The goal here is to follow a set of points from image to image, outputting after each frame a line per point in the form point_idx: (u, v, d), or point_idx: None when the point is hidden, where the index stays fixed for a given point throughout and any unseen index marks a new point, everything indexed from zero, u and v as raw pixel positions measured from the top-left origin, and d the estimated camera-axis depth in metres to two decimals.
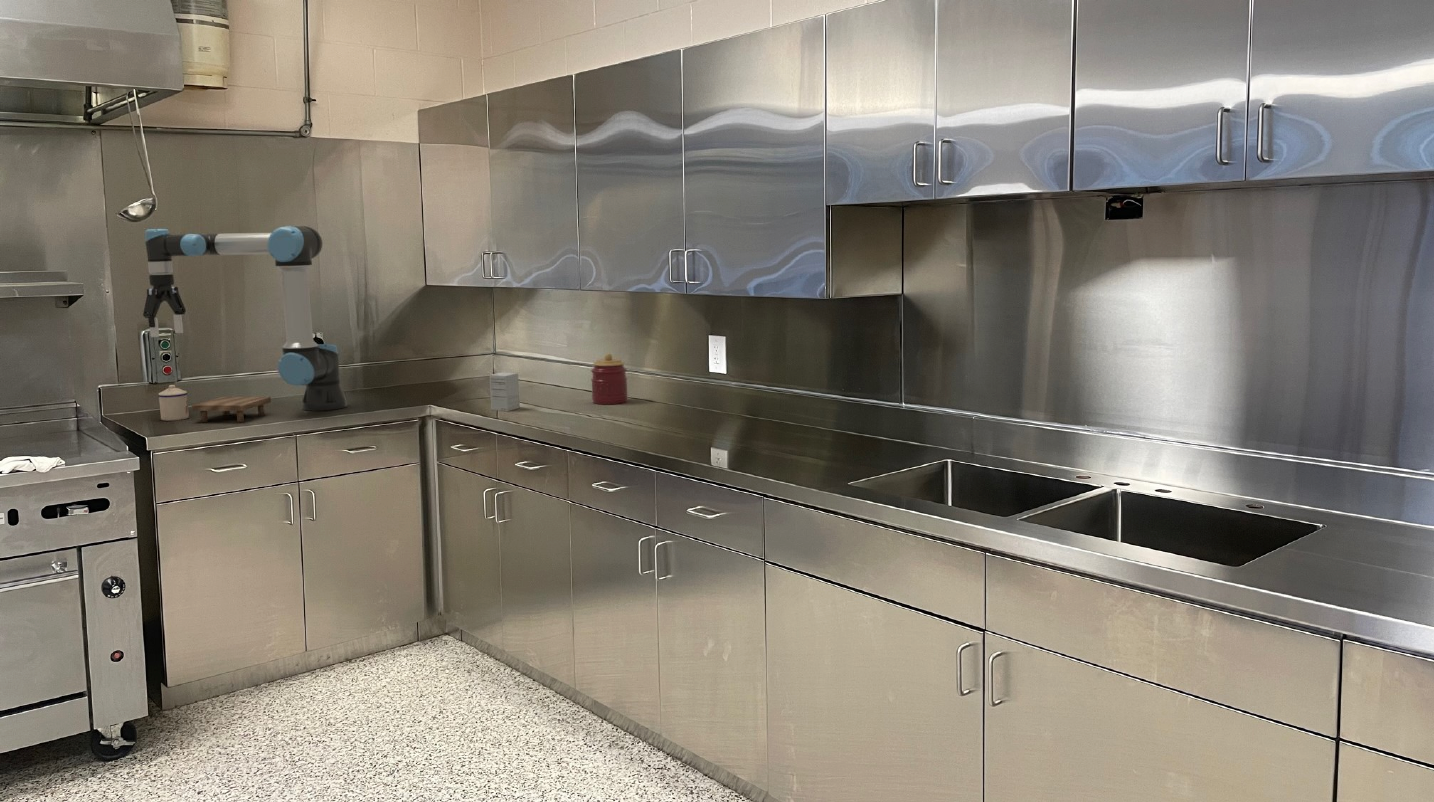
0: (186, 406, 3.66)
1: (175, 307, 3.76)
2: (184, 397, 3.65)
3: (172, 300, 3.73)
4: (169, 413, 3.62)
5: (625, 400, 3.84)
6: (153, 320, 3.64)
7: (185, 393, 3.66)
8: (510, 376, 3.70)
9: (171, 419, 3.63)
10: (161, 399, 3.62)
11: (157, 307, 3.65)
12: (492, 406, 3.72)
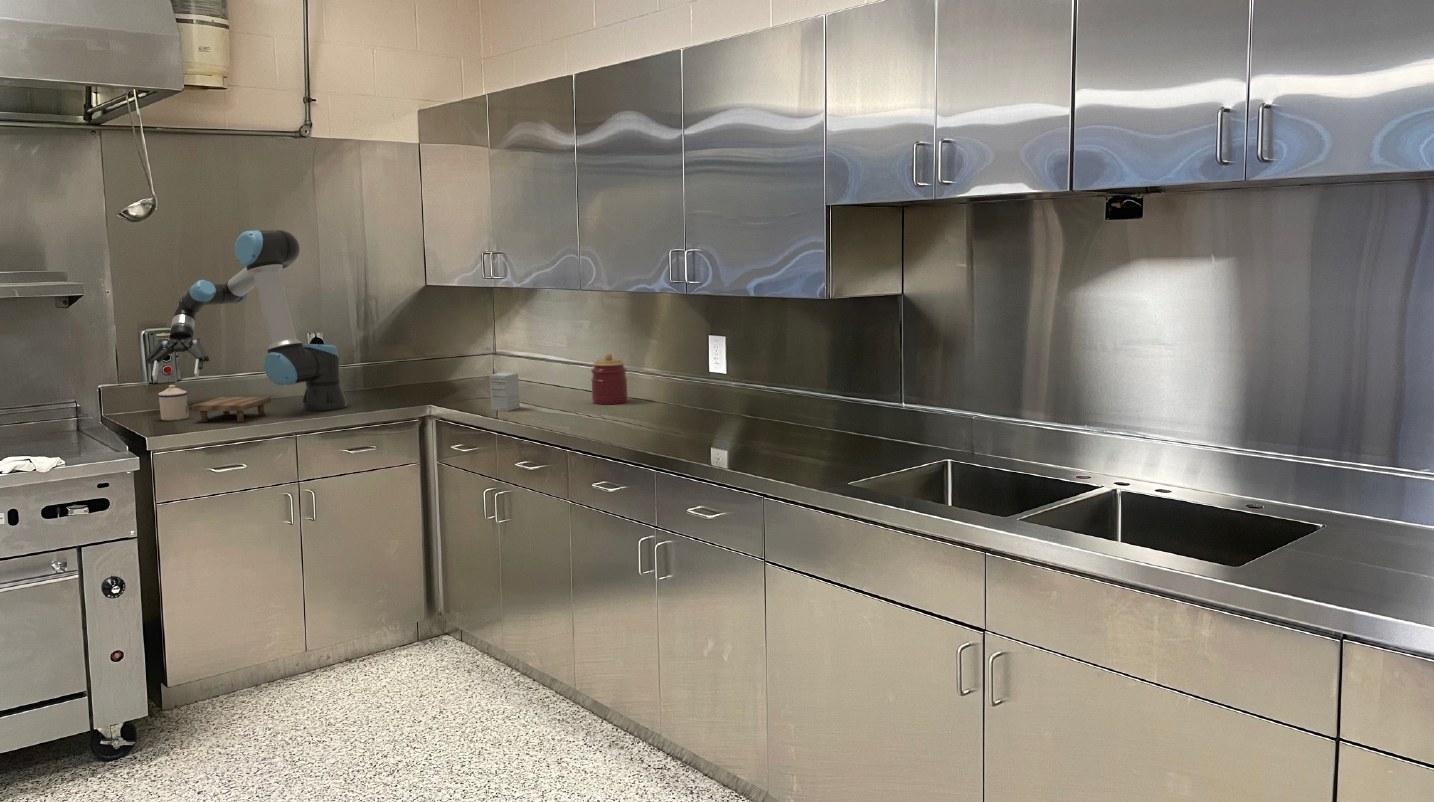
0: (186, 406, 3.66)
1: (193, 354, 3.80)
2: (184, 397, 3.65)
3: (187, 348, 3.81)
4: (169, 413, 3.62)
5: (625, 400, 3.84)
6: (152, 363, 3.75)
7: (185, 393, 3.66)
8: (510, 376, 3.70)
9: (171, 419, 3.63)
10: (161, 399, 3.62)
11: (160, 353, 3.78)
12: (492, 407, 3.72)
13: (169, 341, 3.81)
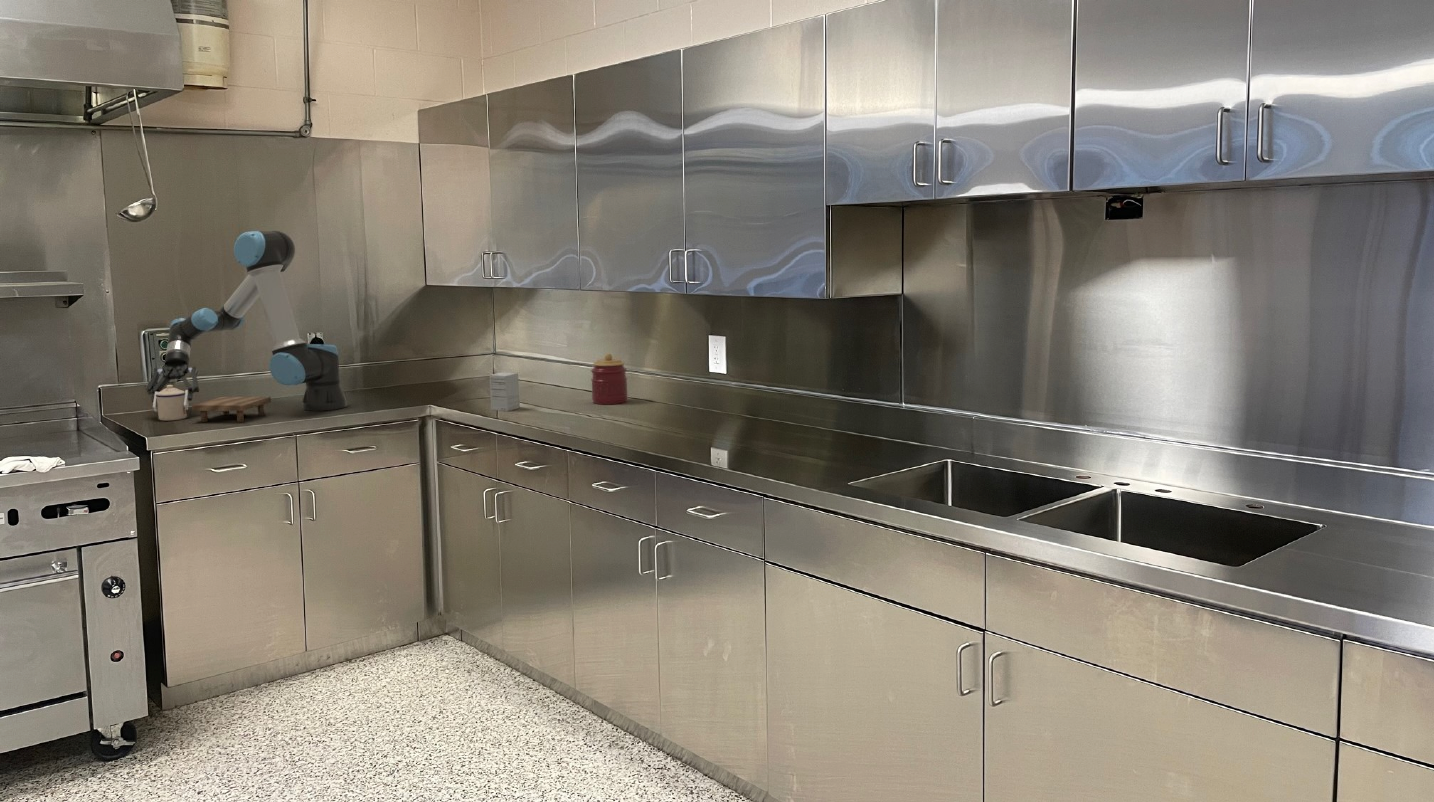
0: None
1: (185, 384, 3.70)
2: (182, 397, 3.65)
3: (180, 376, 3.71)
4: (166, 413, 3.62)
5: (625, 400, 3.84)
6: (153, 394, 3.66)
7: (183, 393, 3.65)
8: (510, 376, 3.70)
9: (168, 419, 3.63)
10: (159, 399, 3.62)
11: (159, 382, 3.68)
12: (492, 407, 3.72)
13: (164, 368, 3.72)
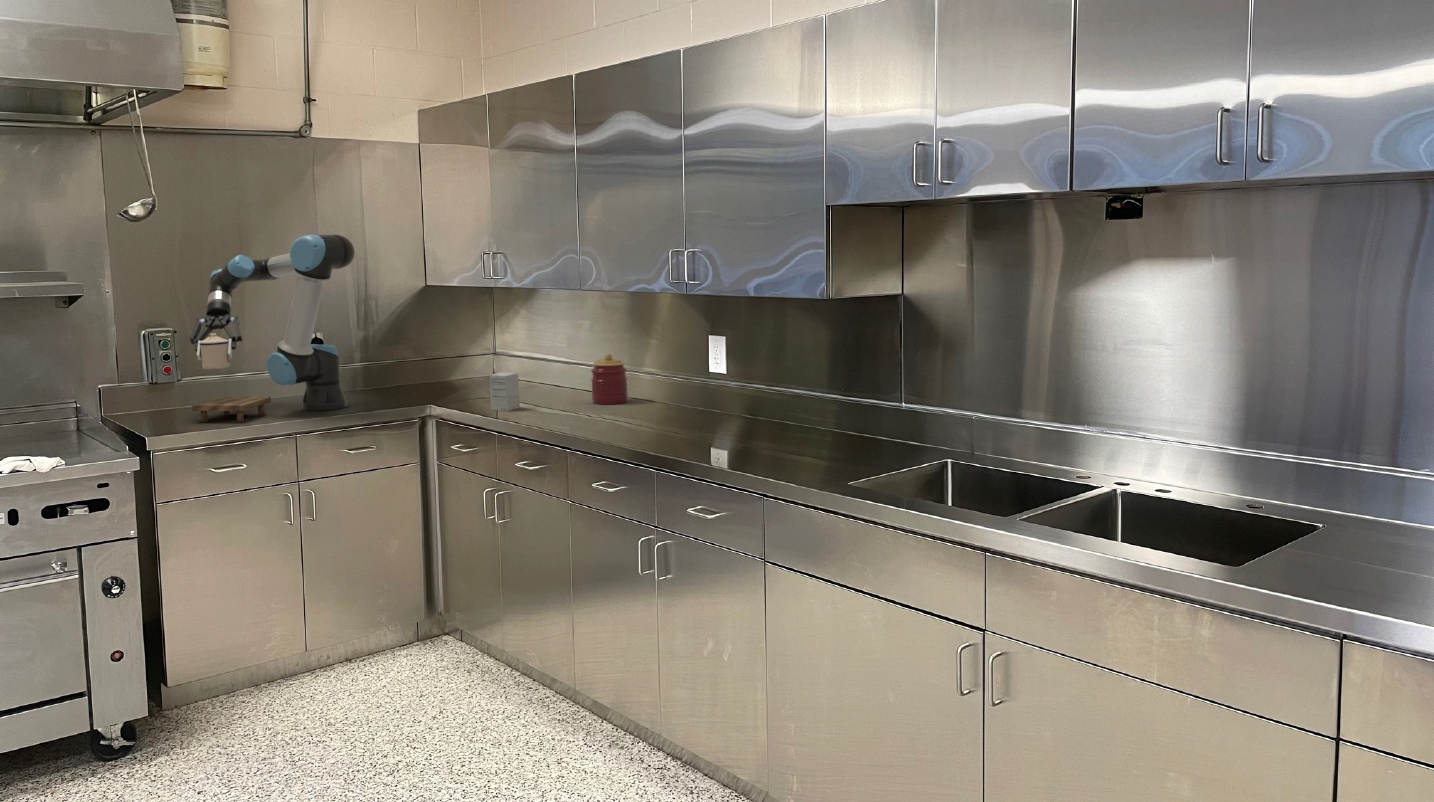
0: (227, 355, 3.62)
1: (228, 333, 3.66)
2: (225, 345, 3.60)
3: (223, 325, 3.67)
4: (210, 361, 3.58)
5: (625, 400, 3.84)
6: (196, 343, 3.61)
7: (226, 341, 3.61)
8: (510, 376, 3.70)
9: (213, 367, 3.58)
10: (203, 347, 3.57)
11: (202, 331, 3.64)
12: (492, 407, 3.72)
13: (206, 318, 3.67)
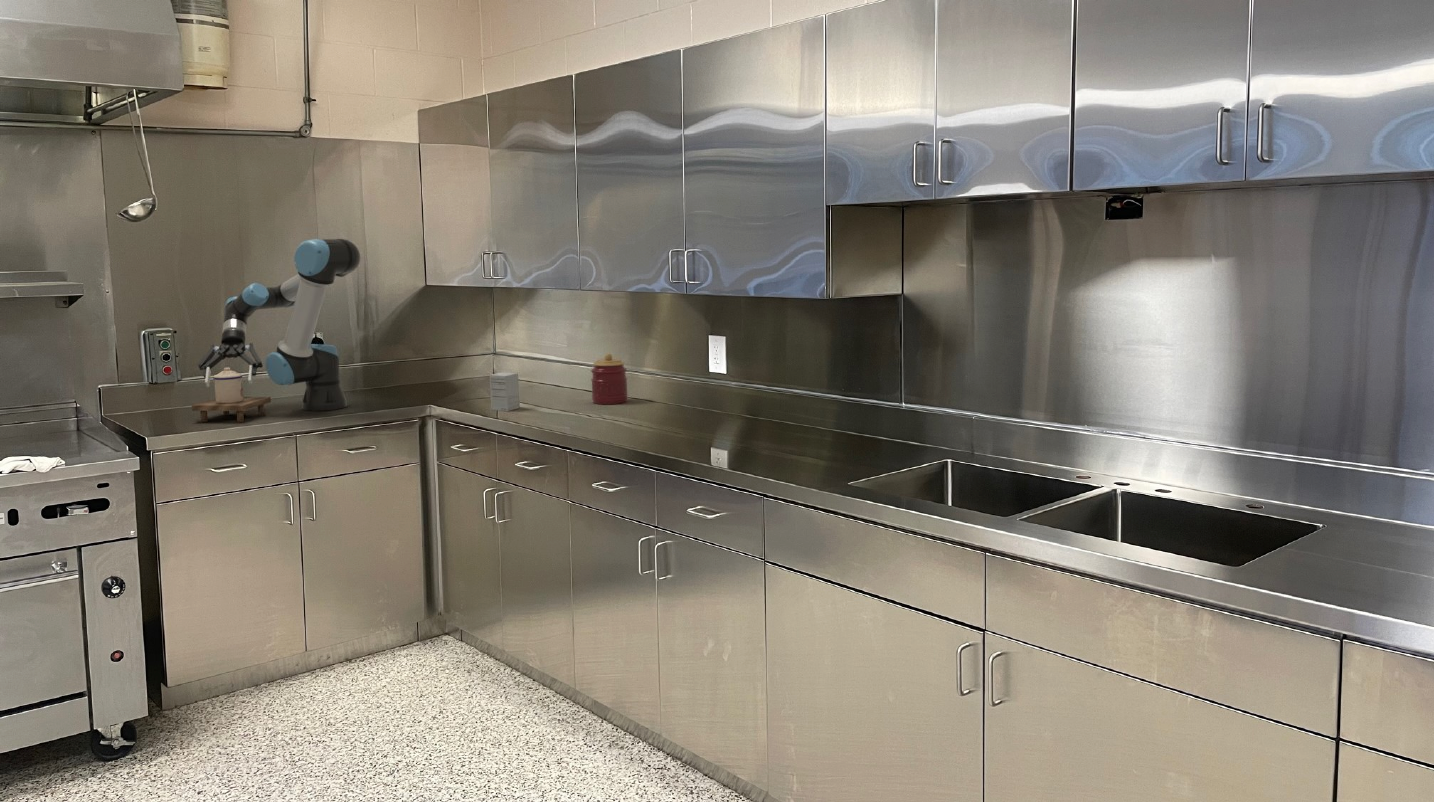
0: (241, 389, 3.62)
1: (246, 360, 3.67)
2: (239, 380, 3.61)
3: (240, 353, 3.68)
4: (224, 396, 3.58)
5: (625, 400, 3.84)
6: (205, 369, 3.62)
7: (240, 376, 3.62)
8: (510, 376, 3.70)
9: (226, 402, 3.59)
10: (216, 382, 3.58)
11: (213, 359, 3.65)
12: (492, 406, 3.72)
13: (221, 346, 3.68)
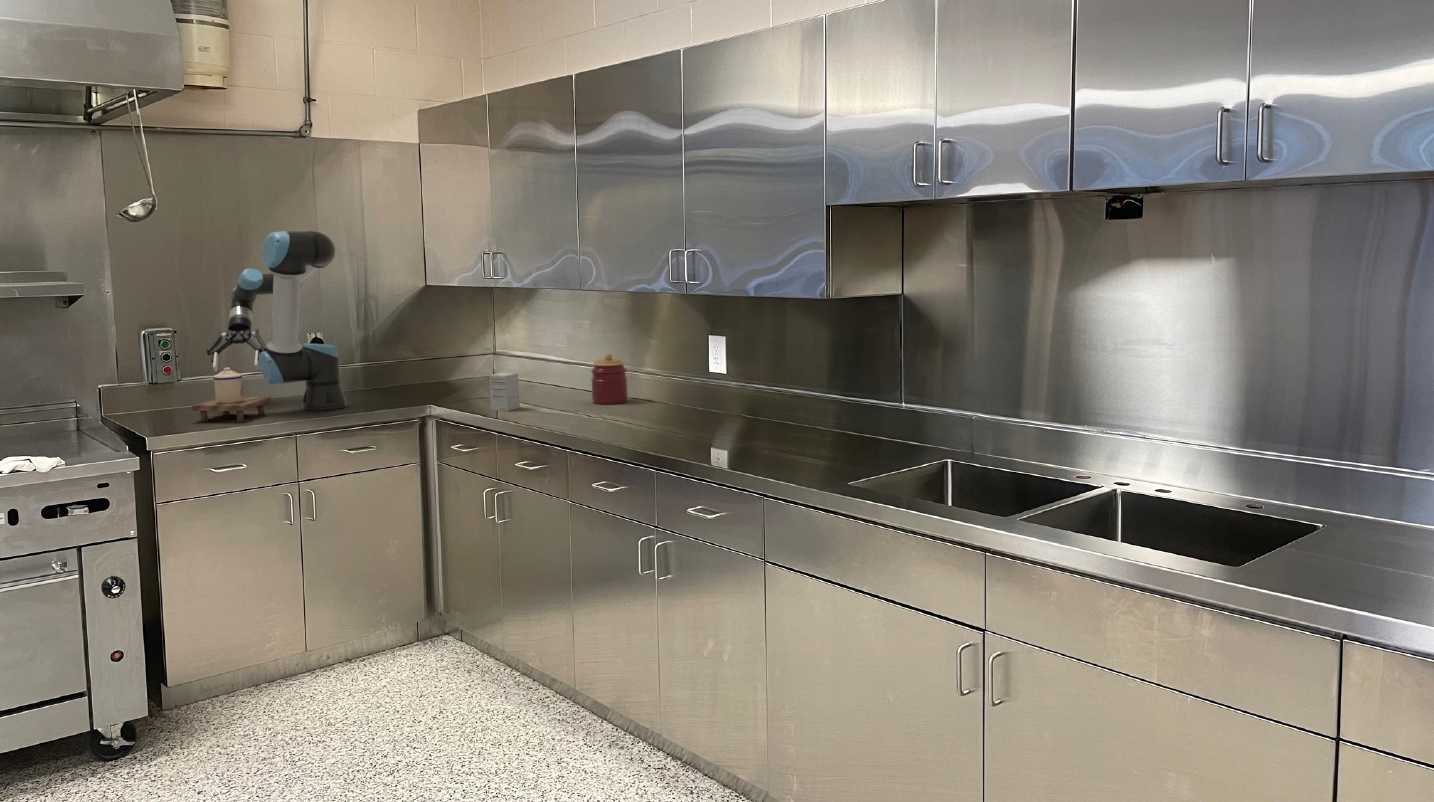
0: (241, 389, 3.62)
1: (253, 346, 3.80)
2: (239, 380, 3.61)
3: (246, 339, 3.80)
4: (224, 396, 3.58)
5: (625, 400, 3.84)
6: (213, 355, 3.75)
7: (240, 376, 3.61)
8: (510, 376, 3.70)
9: (226, 402, 3.59)
10: (216, 382, 3.58)
11: (220, 344, 3.77)
12: (492, 407, 3.72)
13: (228, 333, 3.81)
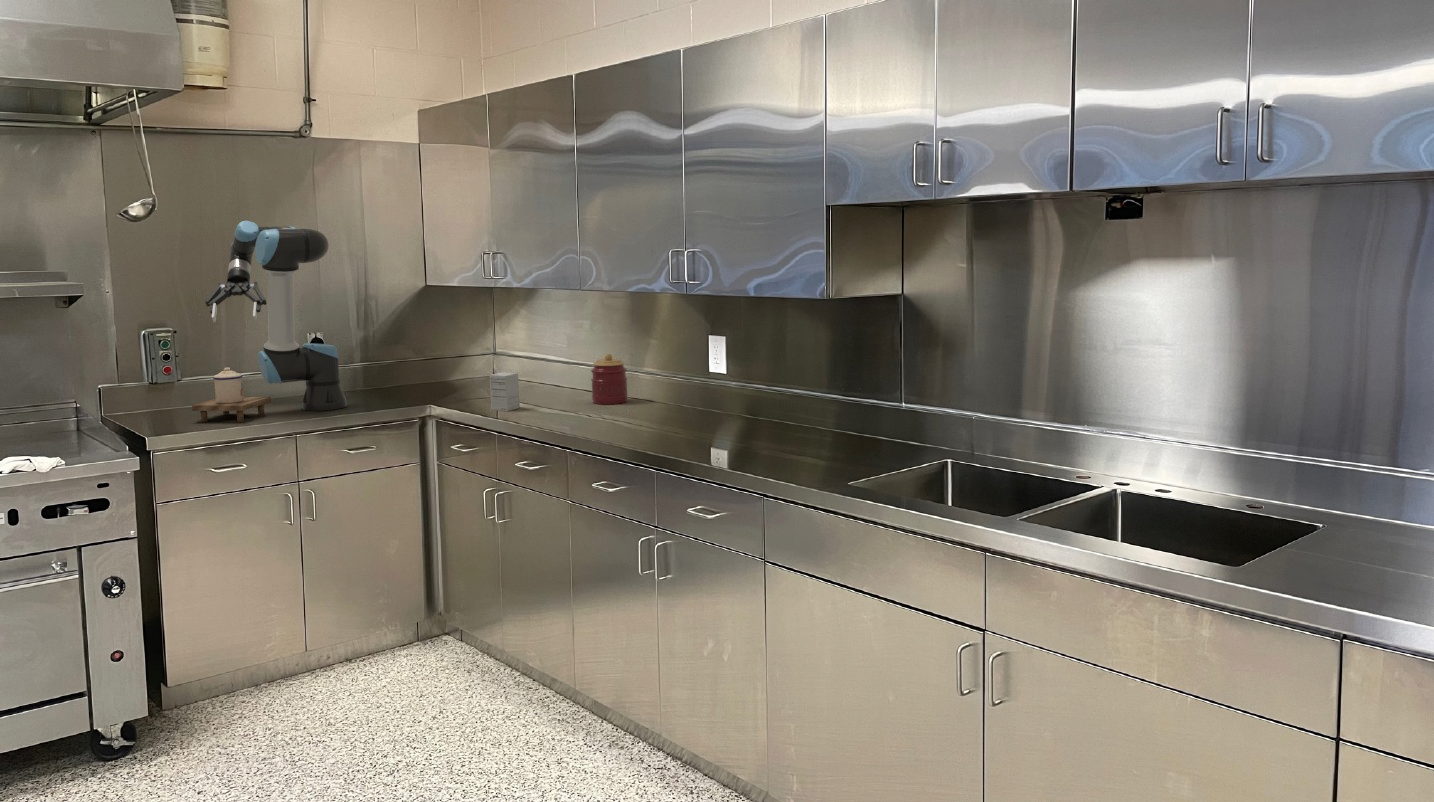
0: (241, 389, 3.62)
1: (251, 297, 3.84)
2: (239, 380, 3.61)
3: (245, 291, 3.85)
4: (224, 396, 3.58)
5: (625, 400, 3.84)
6: (211, 306, 3.79)
7: (240, 376, 3.62)
8: (510, 376, 3.70)
9: (226, 402, 3.59)
10: (216, 382, 3.58)
11: (219, 296, 3.82)
12: (492, 407, 3.72)
13: (227, 285, 3.85)
